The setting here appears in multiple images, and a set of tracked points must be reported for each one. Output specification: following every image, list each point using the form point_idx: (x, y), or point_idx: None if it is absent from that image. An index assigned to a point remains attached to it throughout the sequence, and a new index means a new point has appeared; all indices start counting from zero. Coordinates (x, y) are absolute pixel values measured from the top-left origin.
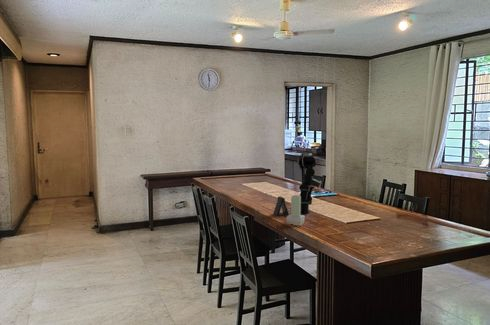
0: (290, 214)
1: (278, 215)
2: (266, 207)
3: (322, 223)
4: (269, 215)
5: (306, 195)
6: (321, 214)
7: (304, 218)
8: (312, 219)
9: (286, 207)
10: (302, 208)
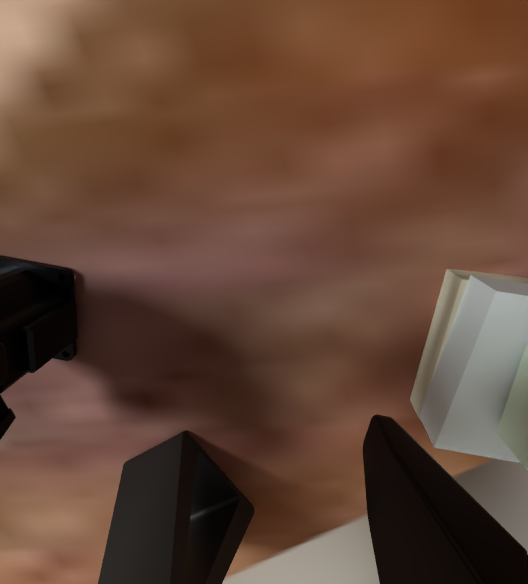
0: (464, 449)
1: (244, 498)
2: (15, 579)
3: (491, 27)
4: (258, 549)
5: (509, 547)
6: (9, 104)
7: (481, 279)
8: (300, 189)
9: (176, 512)
10: (47, 349)
